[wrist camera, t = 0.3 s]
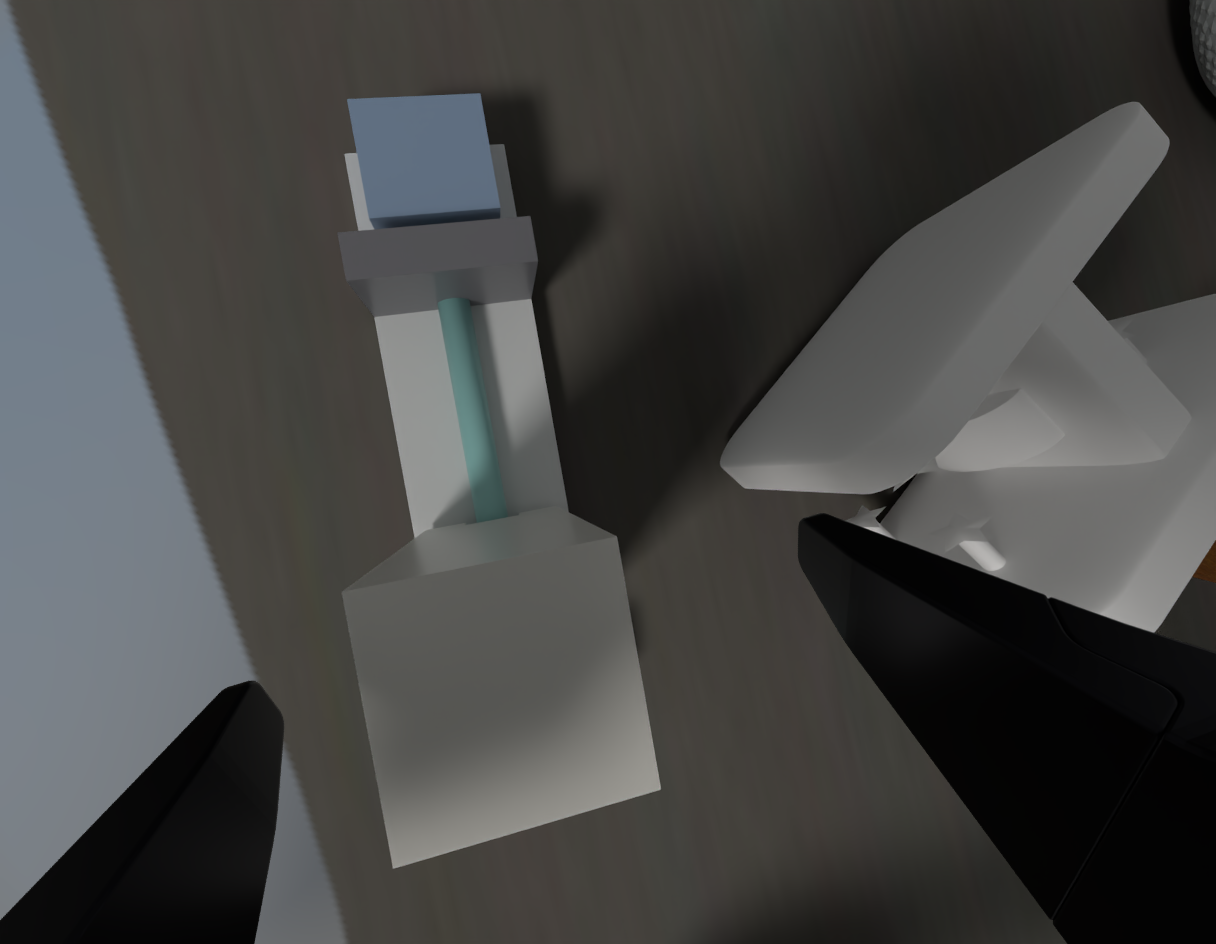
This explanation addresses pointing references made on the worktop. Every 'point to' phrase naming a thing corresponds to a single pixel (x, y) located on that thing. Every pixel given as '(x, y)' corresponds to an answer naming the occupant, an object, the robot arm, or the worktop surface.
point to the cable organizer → (1014, 392)
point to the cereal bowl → (1204, 39)
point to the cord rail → (451, 309)
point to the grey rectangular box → (499, 680)
